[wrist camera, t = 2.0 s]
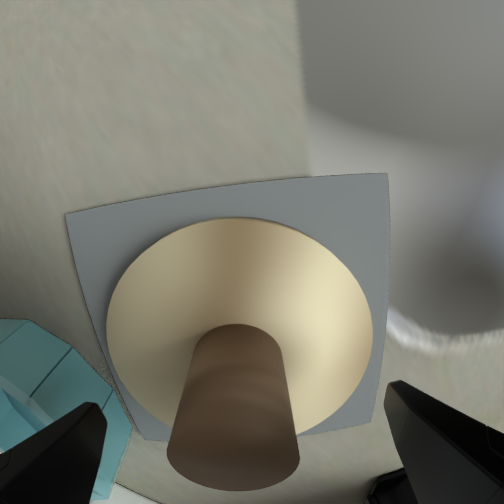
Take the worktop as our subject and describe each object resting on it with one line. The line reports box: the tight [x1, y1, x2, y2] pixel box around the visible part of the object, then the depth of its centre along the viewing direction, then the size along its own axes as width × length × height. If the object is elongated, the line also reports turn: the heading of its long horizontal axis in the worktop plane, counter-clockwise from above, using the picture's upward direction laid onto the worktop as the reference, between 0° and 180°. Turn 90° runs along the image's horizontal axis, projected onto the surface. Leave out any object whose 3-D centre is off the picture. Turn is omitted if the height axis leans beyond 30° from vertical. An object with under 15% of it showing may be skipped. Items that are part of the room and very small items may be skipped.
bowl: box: [0, 319, 133, 500], centre depth 11 cm, size 11×11×4 cm
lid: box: [106, 216, 373, 491], centre depth 8 cm, size 10×10×6 cm
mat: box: [65, 173, 390, 442], centre depth 11 cm, size 12×12×1 cm
